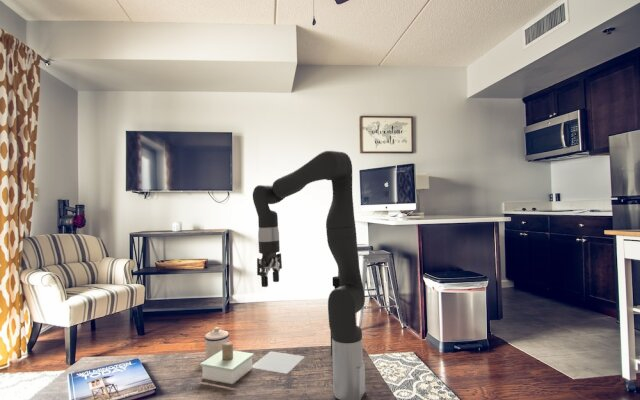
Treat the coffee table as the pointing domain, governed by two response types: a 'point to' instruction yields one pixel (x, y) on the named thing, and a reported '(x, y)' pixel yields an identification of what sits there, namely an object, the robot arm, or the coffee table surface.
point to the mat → (278, 362)
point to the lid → (227, 358)
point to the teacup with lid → (215, 341)
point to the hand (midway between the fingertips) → (270, 284)
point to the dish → (227, 373)
